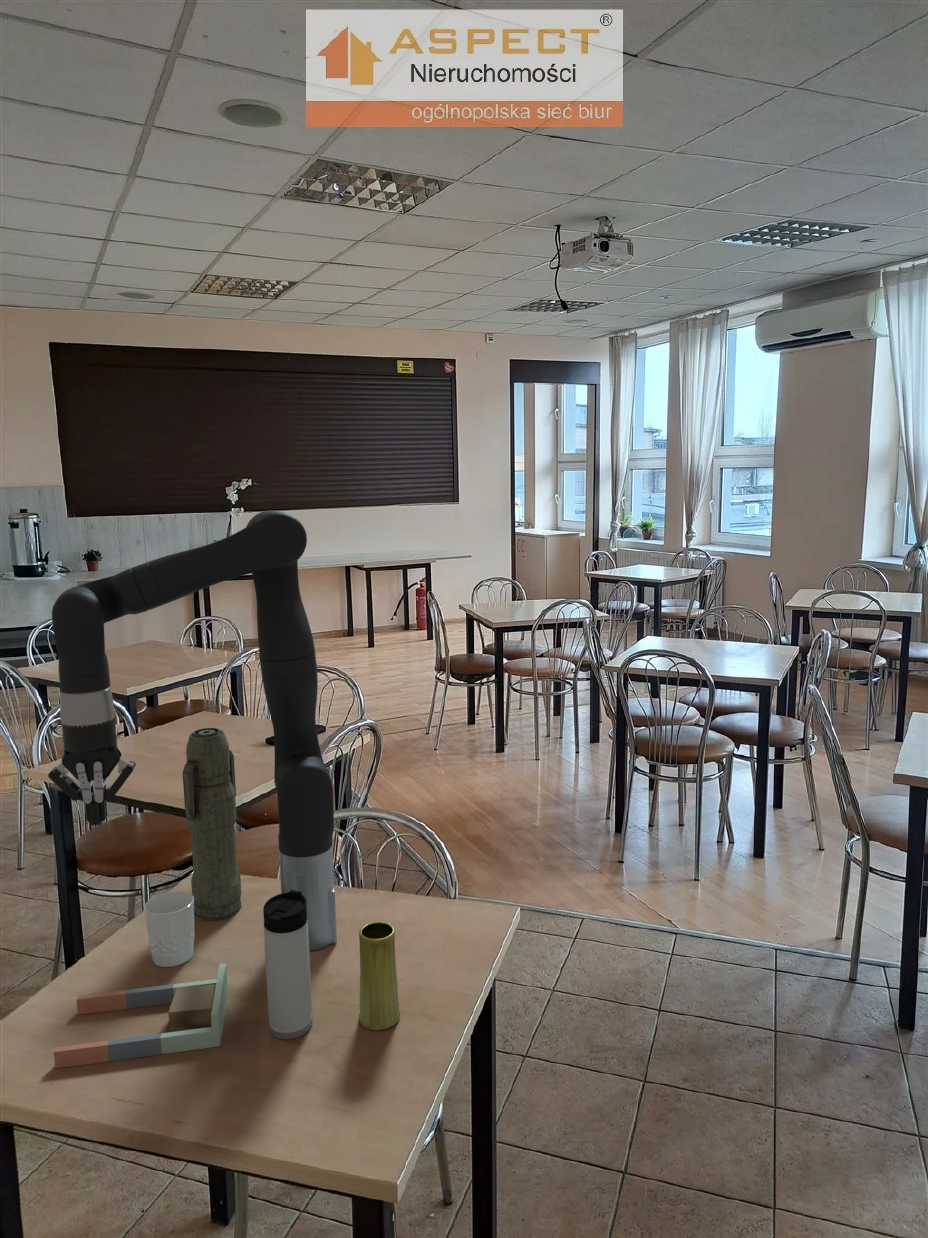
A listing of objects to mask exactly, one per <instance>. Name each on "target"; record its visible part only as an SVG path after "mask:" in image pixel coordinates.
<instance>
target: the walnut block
mask: <svg viewBox="0 0 928 1238" xmlns="http://www.w3.org/2000/svg"><path fill="white" fill-rule="evenodd" d="M215 988H216V984H213V985H202V986H191V987H180V988H177V989H176V992H175V995H174V998H173V1001H172V1003H170V1007H169V1009H168V1022H169V1023H168V1024H169V1032H177V1031H185V1030H192V1029H200V1028H208V1027H212V1024H211V1012H212V1006H213V1000H214V994H215Z"/></svg>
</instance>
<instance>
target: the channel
mask: <svg viewBox="0 0 928 1238" xmlns="http://www.w3.org/2000/svg"><path fill="white" fill-rule="evenodd" d="M217 970H218V971H217V976H216V978H215V979H206V980H197V981H188V982H182V983H181V982H180V983H174V984H165V985H157V986H156V985H154V986H149V987H139V988H132V989H123V990H122V989H121V990H113V991H105V992H98V993H91V994H81V995H80V994H79V995H78V996H77V997H76V1008H77V1015H83V1014H84V1015H86V1014H95V1013H102V1012H108V1011H109V1012H110V1011H117V1010H125V1009H126V1010H127V1009H133V1008H135V1009H136V1008H140V1007H141V1008H143V1007H150V1006H151V1007H152V1006H158V1005H165V1004H166V1005H167V1004H172V1001H173V998H174V995H175V992H176V989H177V988H180V987H191V986H202V985H213V984H216V988H215V994H214V1000H213V1006H212V1012H211V1024H212V1027H208V1028H200V1029H192V1030H185V1031H177V1032H170V1031H168V1032H162V1033H156V1034H147V1035H141V1036H133V1037H132V1036H131V1037H124V1038H123V1037H122V1038H117V1039H110V1040H103V1041H96V1042H88V1043H79V1044H71V1045H64V1046H63V1045H62V1046H56V1047H55V1048H54V1051H53V1057H54V1058H53V1059H54V1068H55V1069H60V1068H69V1067H76V1066H84V1065H90V1064H97V1063H99V1064H100V1063H107V1062H112V1061H121V1060H127V1059H135V1058H142V1057H149V1056H150V1057H151V1056H158V1055H165V1054H173V1053H181V1052H185V1051H188V1052H189V1051H193V1050H194V1051H195V1050H202V1049H210V1048H215V1047H221V1044H222V1043H221V1042H222V1036H223V1029H224V1022H225V1017H226V1015H225V1013H226V1009H227V1001H228V995H229V988H228V972H227V971H228V969H227V962H226V963H219V966H218V969H217Z"/></svg>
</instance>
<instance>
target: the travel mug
mask: <svg viewBox="0 0 928 1238" xmlns="http://www.w3.org/2000/svg"><path fill="white" fill-rule="evenodd" d="M262 912H263V913H262V914H263V919H264V920H263V936H264V937H263V938H264V953H265V954H264V956H265V958H264V959H265V971H266V973H265V975H266V976H265V977H266V991H267V995H266V996H267V1010H268V1028H269V1032H270V1033H271V1035H272V1036H273V1037H276V1038H277V1039H281V1040H293V1039H297V1038H299V1037H301V1036H303V1035H305V1034H306V1033H307V1032H308V1031H310V1030H311V1028H312V1026H313V1013H312V1012H313V1007H312V1005H313V1004H312V987H311V983H312V982H311V967H310V966H311V963H310V960H311V959H310V951H309V938H308V919H307V902H306V898H305V897H304V896H303V895H302V892H301V891H295V890H290V891H289V892H287V893H282V894H281V893H278V894H276V895H274V896H271V898H269V899H268V900H267V901H266V902H265V903H264V904H263V911H262Z"/></svg>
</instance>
